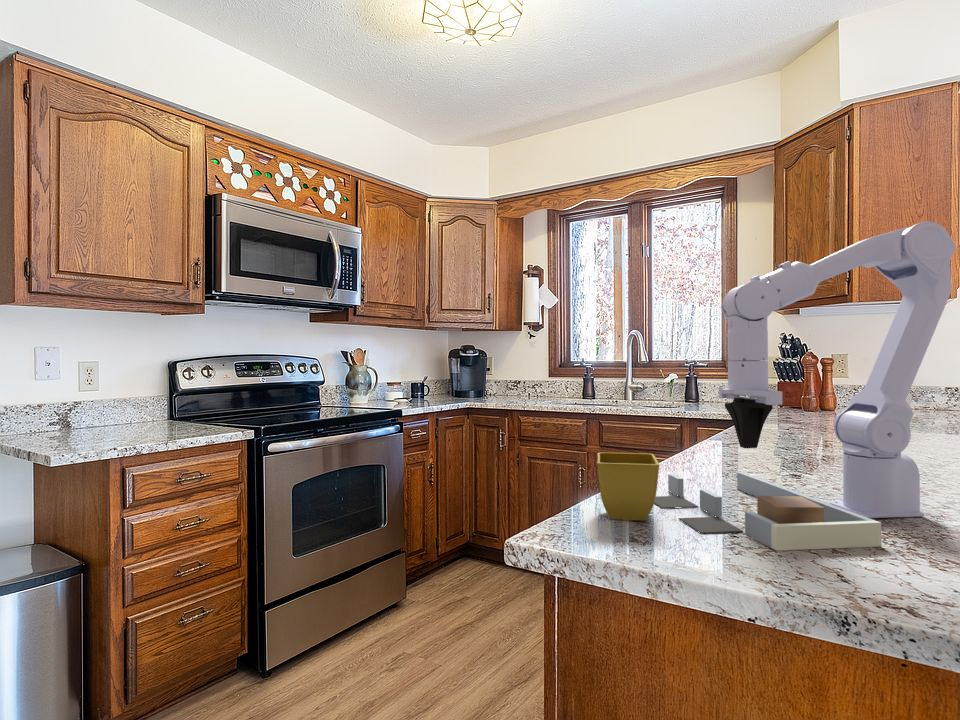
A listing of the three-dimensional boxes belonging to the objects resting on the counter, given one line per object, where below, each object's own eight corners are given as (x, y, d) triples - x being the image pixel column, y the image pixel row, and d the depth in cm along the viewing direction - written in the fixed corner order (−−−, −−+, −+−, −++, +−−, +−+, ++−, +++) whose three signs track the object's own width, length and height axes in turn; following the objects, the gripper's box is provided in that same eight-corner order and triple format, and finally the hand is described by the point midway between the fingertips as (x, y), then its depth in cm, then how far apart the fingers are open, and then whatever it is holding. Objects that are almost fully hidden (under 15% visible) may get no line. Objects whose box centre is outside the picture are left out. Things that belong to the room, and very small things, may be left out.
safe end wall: (875, 543, 73) (875, 520, 73) (881, 546, 72) (881, 522, 72) (771, 548, 72) (771, 524, 72) (776, 550, 71) (776, 526, 71)
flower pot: (660, 526, 81) (659, 463, 81) (597, 523, 83) (597, 462, 83) (654, 510, 90) (653, 453, 90) (597, 507, 92) (597, 452, 92)
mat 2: (717, 518, 85) (717, 516, 85) (743, 532, 78) (743, 530, 78) (678, 519, 84) (678, 518, 84) (701, 533, 78) (701, 532, 78)
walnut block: (800, 528, 80) (800, 496, 80) (824, 541, 74) (824, 507, 74) (757, 527, 81) (757, 496, 81) (777, 541, 75) (777, 507, 75)
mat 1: (679, 496, 98) (679, 495, 98) (698, 507, 91) (698, 506, 91) (645, 497, 97) (645, 496, 97) (662, 508, 90) (662, 507, 90)
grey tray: (742, 488, 104) (742, 472, 104) (875, 543, 73) (875, 520, 73) (668, 490, 102) (668, 474, 102) (771, 548, 72) (771, 524, 72)
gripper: (701, 361, 96) (701, 441, 96) (749, 361, 81) (750, 456, 82) (741, 360, 97) (741, 440, 97) (795, 360, 82) (796, 454, 82)
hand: (748, 447), depth 89 cm, fingers closed
